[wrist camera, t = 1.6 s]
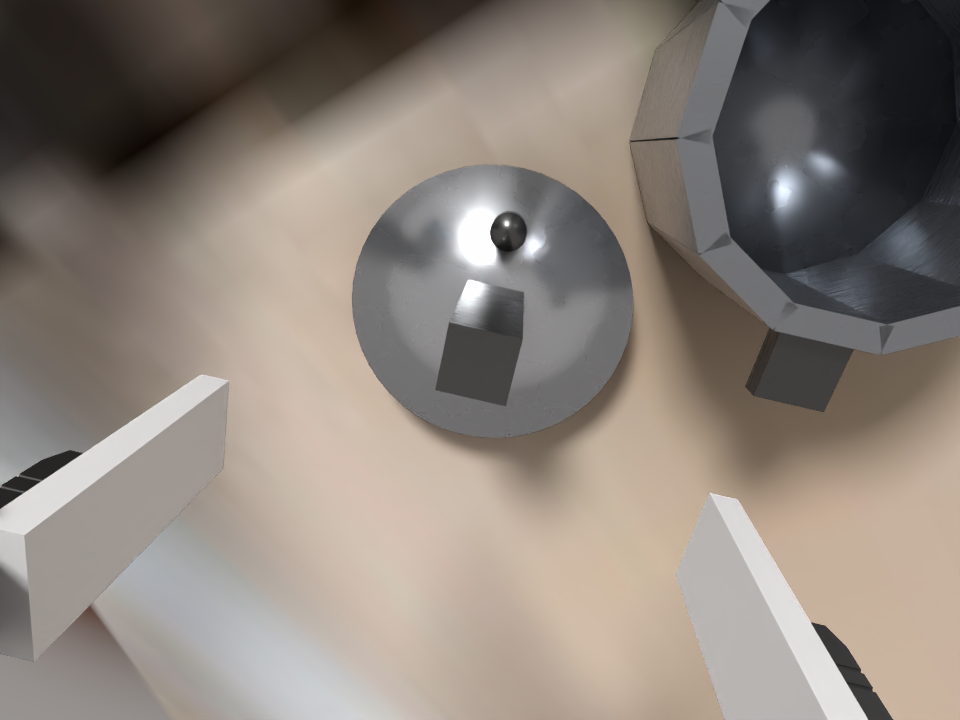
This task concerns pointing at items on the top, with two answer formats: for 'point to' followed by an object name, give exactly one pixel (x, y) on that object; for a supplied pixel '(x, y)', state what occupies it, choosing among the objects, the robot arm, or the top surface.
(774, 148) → the cooker pot
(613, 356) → the lid
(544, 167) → the top surface
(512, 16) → the top surface
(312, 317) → the top surface
